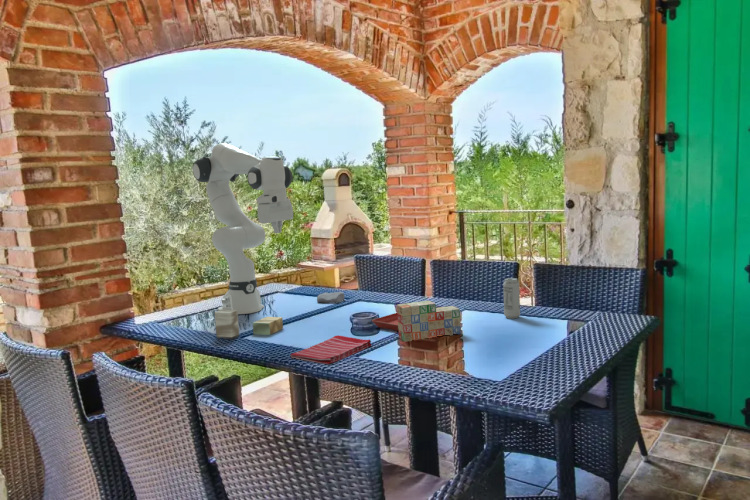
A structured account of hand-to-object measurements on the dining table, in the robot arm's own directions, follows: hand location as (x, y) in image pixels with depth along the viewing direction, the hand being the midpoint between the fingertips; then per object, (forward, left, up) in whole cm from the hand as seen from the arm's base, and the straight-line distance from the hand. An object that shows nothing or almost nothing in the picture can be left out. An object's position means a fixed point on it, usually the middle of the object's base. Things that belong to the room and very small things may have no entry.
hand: (277, 232), depth 238 cm
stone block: (-22, +40, -38) cm, 59 cm away
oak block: (+5, -14, -35) cm, 38 cm away
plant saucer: (+40, +28, -38) cm, 62 cm away
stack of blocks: (+58, +23, -38) cm, 73 cm away
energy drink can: (+65, +62, -37) cm, 97 cm away
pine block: (-2, -24, -37) cm, 44 cm away
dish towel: (+45, -11, -38) cm, 60 cm away
